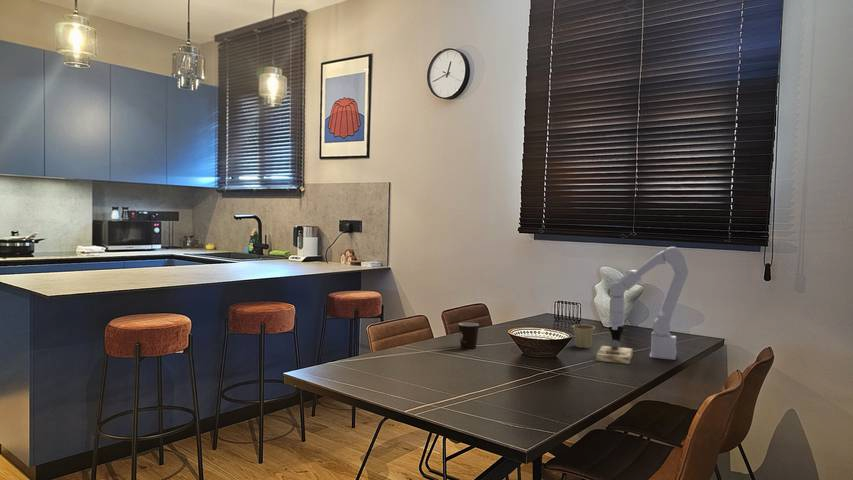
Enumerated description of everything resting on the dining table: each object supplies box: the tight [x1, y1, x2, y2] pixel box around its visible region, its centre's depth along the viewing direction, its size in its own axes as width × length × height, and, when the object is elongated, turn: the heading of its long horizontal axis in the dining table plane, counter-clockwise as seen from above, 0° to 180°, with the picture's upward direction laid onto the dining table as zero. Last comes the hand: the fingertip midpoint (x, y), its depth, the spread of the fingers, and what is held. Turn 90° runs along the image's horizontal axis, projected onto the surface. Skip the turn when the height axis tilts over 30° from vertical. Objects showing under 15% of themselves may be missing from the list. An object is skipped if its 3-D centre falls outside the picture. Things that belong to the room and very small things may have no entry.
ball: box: [610, 339, 621, 349], centre depth 237 cm, size 4×4×4 cm
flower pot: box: [572, 324, 596, 349], centre depth 251 cm, size 9×9×9 cm
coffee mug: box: [458, 322, 480, 350], centre depth 248 cm, size 12×9×10 cm
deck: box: [595, 345, 634, 364], centre depth 232 cm, size 12×17×2 cm
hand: (616, 344), depth 241 cm, fingers closed
